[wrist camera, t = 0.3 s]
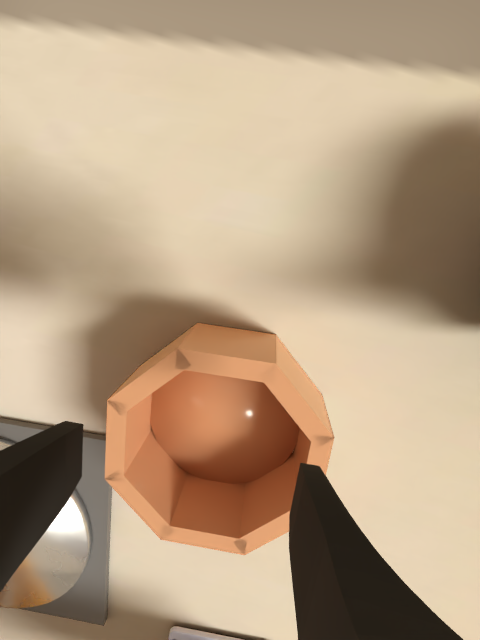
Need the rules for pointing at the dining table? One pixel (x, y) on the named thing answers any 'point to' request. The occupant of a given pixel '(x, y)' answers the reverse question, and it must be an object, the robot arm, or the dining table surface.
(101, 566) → the rubber mat
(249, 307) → the dining table surface
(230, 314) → the dining table surface
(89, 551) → the steel lid
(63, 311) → the dining table surface
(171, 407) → the terracotta bowl
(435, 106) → the dining table surface
